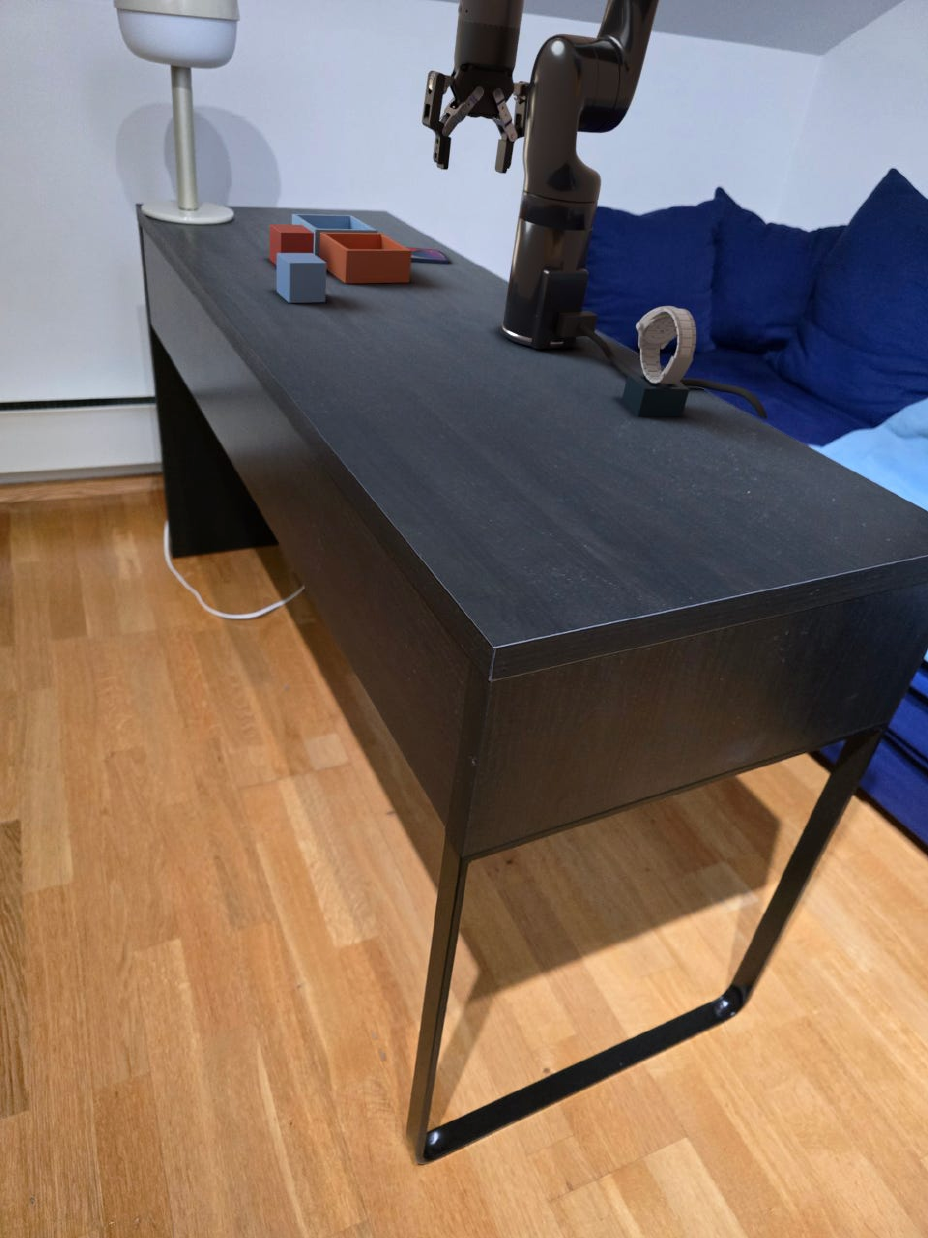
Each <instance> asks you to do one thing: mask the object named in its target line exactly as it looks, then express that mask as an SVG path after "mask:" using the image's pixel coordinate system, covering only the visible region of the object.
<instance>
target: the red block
mask: <svg viewBox="0 0 928 1238" xmlns="http://www.w3.org/2000/svg"><path fill="white" fill-rule="evenodd" d="M277 253H313V254H314V233H313V232H312V231H310V230H309V229H307V228H306V227H304V226H303V225H292V224H280V223H279V224H276V223H275V224H272V223H271V224H269V261H270V262H271V263H273V264H274V265H275V266H277Z"/></svg>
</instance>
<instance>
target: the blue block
mask: <svg viewBox="0 0 928 1238" xmlns="http://www.w3.org/2000/svg"><path fill="white" fill-rule="evenodd" d="M326 287H327V269H326V263H325V262H324V261H323V260H321V259H320V258H319V257H317V256H316V255H314V254H313V253H277V265H276V293H277V294H279V296H281V297H282V298H283V299H284V300H285V301H287V302H288V303H289V304H301V303H303V304H304V303H305V304H306V303H326V293H327V292H326V291H327V290H326Z"/></svg>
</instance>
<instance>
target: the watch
mask: <svg viewBox="0 0 928 1238" xmlns="http://www.w3.org/2000/svg"><path fill="white" fill-rule="evenodd" d="M635 328H636V330H637V333H638V338H637V341H638V342H637V345H638V349H639V358H640V359H639V361H640V367H641V370H642V373H639V374H628V376H627V377H626V380H625V384H624V389H623V393H622V397H621V402H622V403H624V405H626V406H627V407H628V408H629V410H631V411H632V412H633V413H634V414H635V415H636V416H638V417H683V416H684V415H683V414H684V410H685V408H686V403H687V401H688V400H687V399H688V397H689V393H690V388H689V387H688V386H685V385H684V384H682V383H681V382H680V380H681V379H682V378H684V376H685V375H686V373H687V372H688V370H689V369H690V366H691V365H692V362H693V361H694V357H693V356H694V354H695V349H696V343H697V327H696V322H695V319H694V317H693V314H692V313H691V312H690V311H689V310H688V309H686V308H678V307H676V306H673V305H665V306H658V307H656V308H653V309H652V310H650V311H648V312H647V313H645V314H644V315H643V316H642V317H641V319H639V321H637V323H636V325H635ZM675 338H676V339H677V340H676V343H677V344H676V349H675V352H674V355H671V357H670V358H669V361H668V363H667V364H666V367H665V368H664V369H663V371H662V366H661V355H660V353H661V350H664V349H665V348H666V346H667V345H669V342H671V341H672V340H674V339H675Z"/></svg>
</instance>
